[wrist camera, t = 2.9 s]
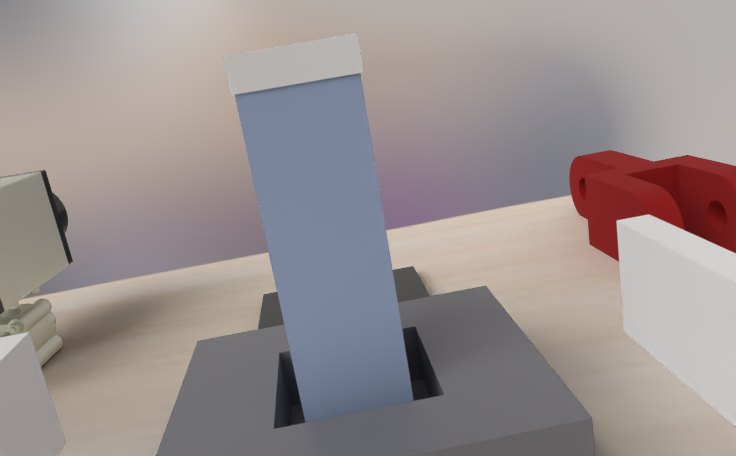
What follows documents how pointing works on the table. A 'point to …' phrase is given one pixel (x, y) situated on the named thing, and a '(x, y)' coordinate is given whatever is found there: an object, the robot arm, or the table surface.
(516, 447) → the socket
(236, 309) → the table surface
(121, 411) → the table surface
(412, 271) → the mat
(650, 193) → the mechanical linkage
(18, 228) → the pneumatic valve
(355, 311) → the plug
